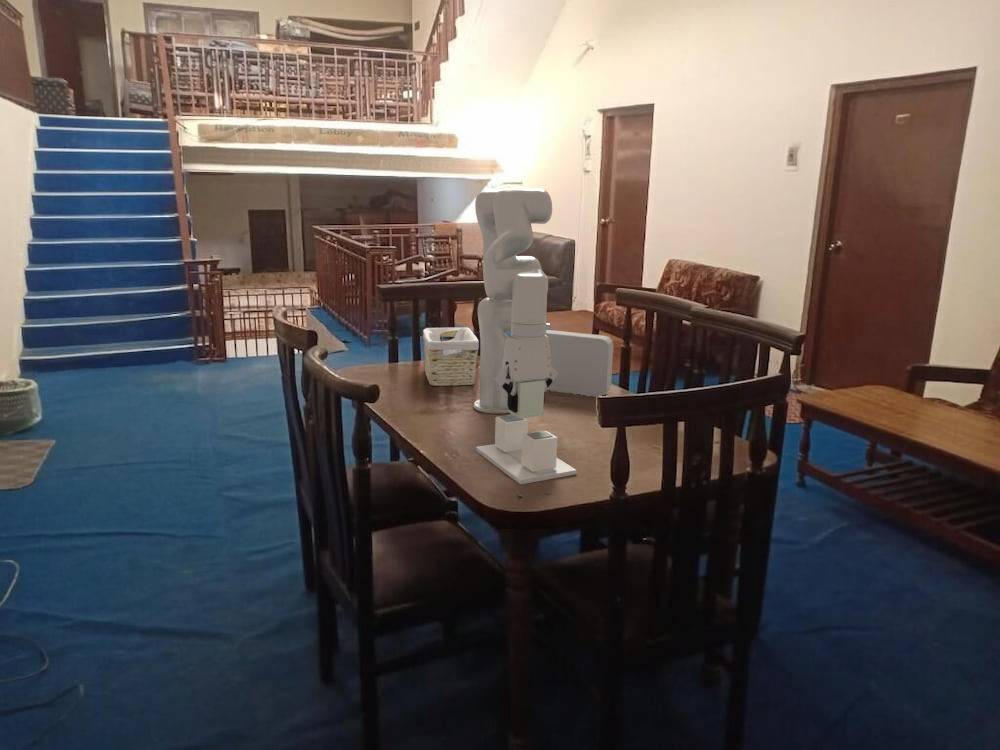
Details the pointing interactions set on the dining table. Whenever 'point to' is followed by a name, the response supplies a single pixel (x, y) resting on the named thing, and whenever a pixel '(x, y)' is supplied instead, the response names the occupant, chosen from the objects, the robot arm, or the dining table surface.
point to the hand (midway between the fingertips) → (526, 408)
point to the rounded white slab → (581, 362)
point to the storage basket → (450, 356)
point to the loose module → (530, 399)
